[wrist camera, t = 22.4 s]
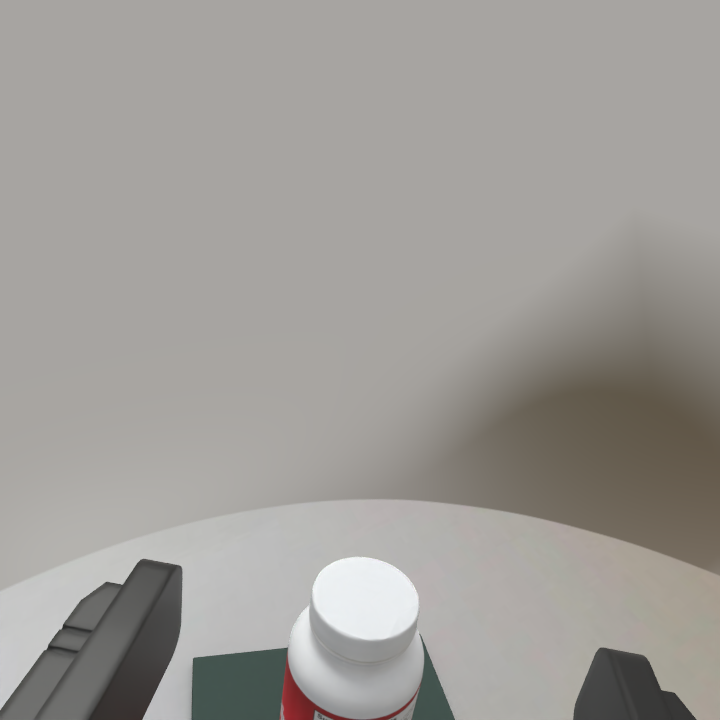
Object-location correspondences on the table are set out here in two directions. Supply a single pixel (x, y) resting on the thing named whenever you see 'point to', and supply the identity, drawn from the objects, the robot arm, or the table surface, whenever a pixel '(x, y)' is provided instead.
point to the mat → (277, 687)
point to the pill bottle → (355, 646)
